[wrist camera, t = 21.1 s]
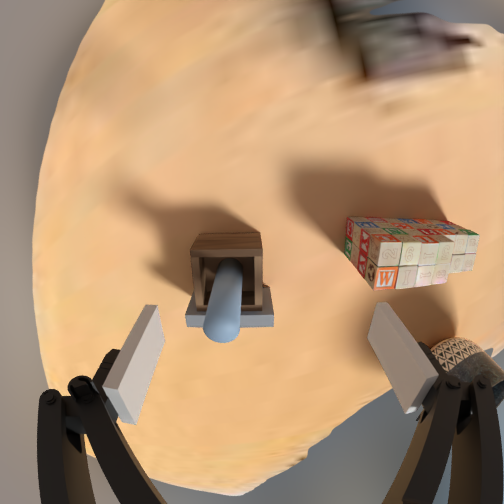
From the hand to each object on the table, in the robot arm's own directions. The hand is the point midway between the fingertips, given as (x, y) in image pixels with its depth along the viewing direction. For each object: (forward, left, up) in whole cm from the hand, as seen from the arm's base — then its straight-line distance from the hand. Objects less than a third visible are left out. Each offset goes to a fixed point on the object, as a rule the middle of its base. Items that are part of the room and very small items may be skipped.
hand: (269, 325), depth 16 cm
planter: (+32, +43, -26) cm, 60 cm away
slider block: (+7, -4, -26) cm, 27 cm away
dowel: (+7, -4, -23) cm, 24 cm away
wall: (+12, -4, -26) cm, 29 cm away
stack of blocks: (+3, +24, -26) cm, 36 cm away
